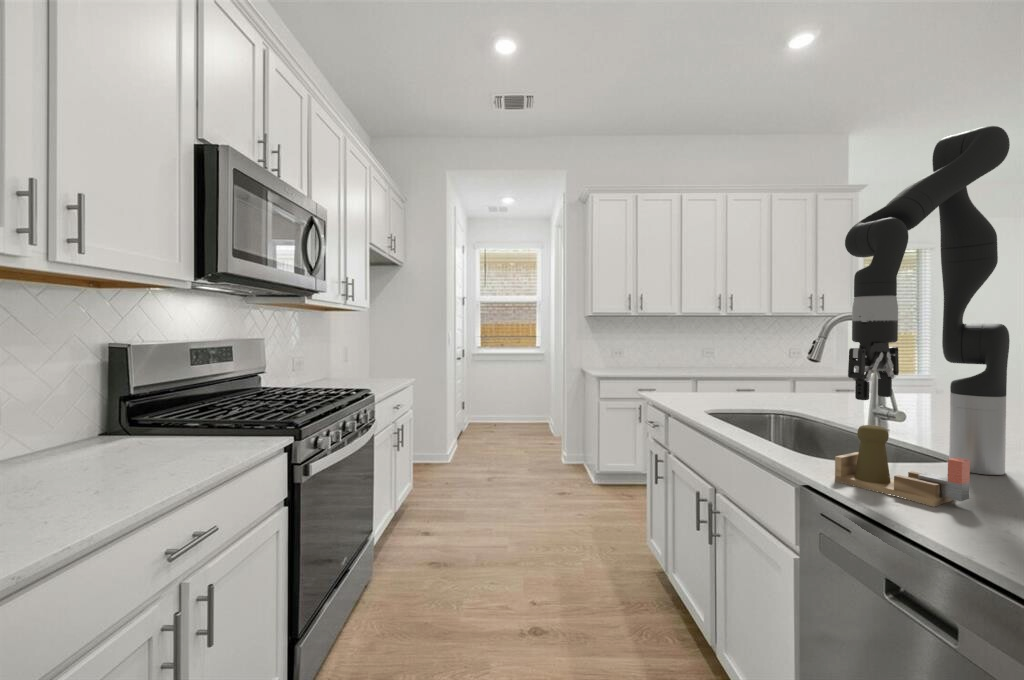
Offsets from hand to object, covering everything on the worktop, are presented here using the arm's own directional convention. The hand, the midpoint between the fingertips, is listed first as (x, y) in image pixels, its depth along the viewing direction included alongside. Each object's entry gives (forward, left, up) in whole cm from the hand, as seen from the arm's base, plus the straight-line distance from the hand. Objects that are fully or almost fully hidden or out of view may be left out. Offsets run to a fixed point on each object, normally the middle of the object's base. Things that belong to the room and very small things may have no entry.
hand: (873, 398), depth 100 cm
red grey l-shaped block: (0, +12, -16) cm, 20 cm away
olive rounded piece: (0, 0, -17) cm, 17 cm away
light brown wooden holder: (0, +3, -18) cm, 18 cm away
